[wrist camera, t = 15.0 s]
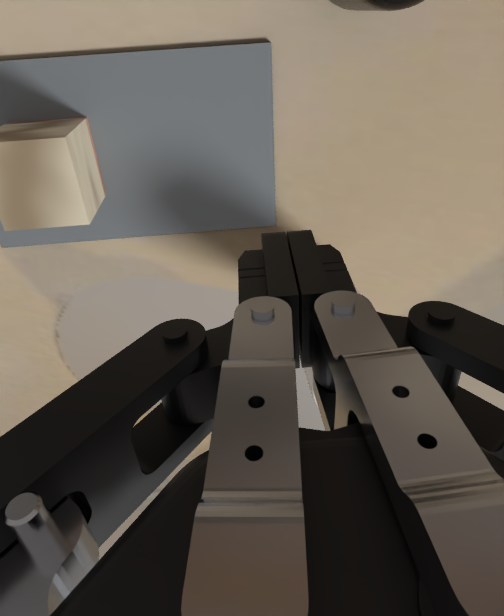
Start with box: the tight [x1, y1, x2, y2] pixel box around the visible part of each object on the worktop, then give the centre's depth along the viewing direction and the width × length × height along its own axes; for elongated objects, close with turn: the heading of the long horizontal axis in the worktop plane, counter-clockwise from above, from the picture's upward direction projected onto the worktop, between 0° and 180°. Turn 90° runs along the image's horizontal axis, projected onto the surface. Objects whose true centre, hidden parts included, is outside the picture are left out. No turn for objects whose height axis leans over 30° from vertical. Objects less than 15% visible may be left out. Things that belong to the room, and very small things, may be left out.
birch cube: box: [0, 117, 106, 231], centre depth 32 cm, size 6×6×6 cm
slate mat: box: [0, 42, 276, 248], centre depth 35 cm, size 24×14×1 cm, turn 93°
